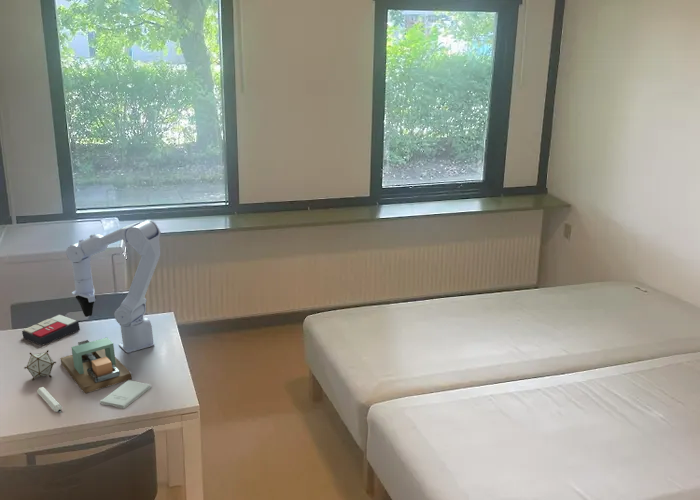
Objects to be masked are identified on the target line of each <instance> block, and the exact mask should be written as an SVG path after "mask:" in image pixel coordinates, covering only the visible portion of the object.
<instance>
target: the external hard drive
mask: <svg viewBox="0 0 700 500" xmlns="http://www.w3.org/2000/svg"><path fill="white" fill-rule="evenodd" d="M151 388H152V386H151V384H149V383H144V382H139V381H135V380H131V379H130V380H127V381H124V382H123V383H122V384H121V385H119V386H118V387H117V388H116V389H114V390H113V391H112V392H110V393H109V394H108V395H107V396H105V397H104V398H102V399H101V400H100V401H99V404H100V405H105V406H112V407H113V406H114V407H115V408H120V409H125V408H127V407H128V406H130V405H131V404H132V403H134V401H136V400H137V399H138V398H139V397H141V396H142V395H143V394H144V393H146V392H148V391H149V390H150V389H151Z"/></svg>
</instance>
